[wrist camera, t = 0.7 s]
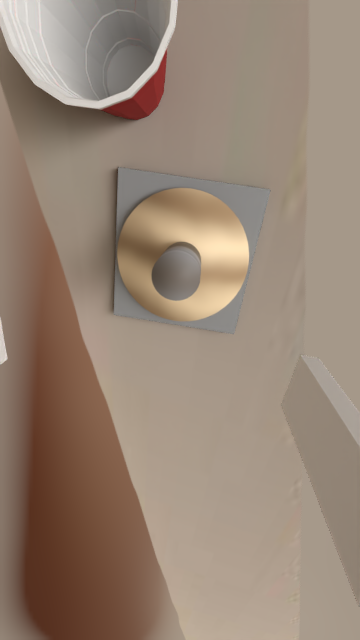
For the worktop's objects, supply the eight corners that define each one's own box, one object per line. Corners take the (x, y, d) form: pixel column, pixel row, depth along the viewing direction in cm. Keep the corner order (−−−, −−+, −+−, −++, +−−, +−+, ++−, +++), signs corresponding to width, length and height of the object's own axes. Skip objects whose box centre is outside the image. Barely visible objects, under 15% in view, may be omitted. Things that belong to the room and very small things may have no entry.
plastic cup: (187, -10, 22) (171, -220, 11) (193, 141, 26) (185, 98, 15) (66, 9, 23) (-56, -164, 12) (91, 151, 27) (17, 118, 17)
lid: (122, 178, 27) (93, 169, 20) (263, 199, 27) (284, 198, 20) (117, 308, 34) (93, 337, 26) (231, 326, 33) (239, 360, 26)
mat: (120, 168, 28) (118, 167, 27) (268, 190, 28) (270, 189, 27) (116, 311, 35) (113, 314, 34) (233, 330, 35) (234, 334, 34)
